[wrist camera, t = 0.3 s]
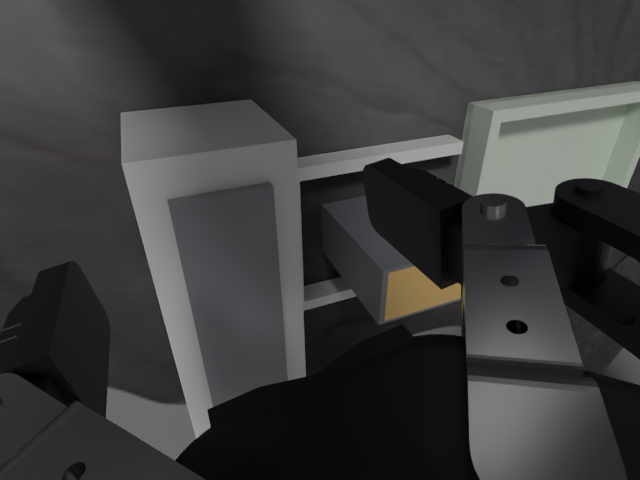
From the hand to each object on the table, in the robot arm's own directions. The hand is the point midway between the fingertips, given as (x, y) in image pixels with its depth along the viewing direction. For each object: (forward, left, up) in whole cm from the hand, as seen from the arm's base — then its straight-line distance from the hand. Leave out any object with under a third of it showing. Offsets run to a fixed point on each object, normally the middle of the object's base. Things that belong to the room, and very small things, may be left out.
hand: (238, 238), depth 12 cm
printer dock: (+12, +9, -18) cm, 23 cm away
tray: (+11, +33, -18) cm, 39 cm away
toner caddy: (+12, +14, -18) cm, 26 cm away
